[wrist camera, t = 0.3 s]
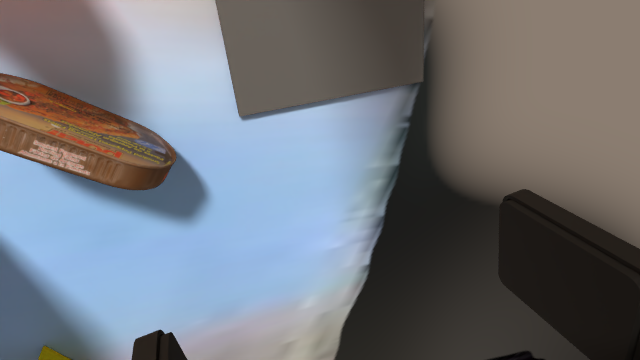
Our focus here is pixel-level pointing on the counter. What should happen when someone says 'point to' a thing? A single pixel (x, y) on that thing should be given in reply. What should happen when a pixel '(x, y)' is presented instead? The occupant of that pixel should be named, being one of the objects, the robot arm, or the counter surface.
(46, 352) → the food package
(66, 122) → the tin
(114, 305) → the counter surface
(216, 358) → the counter surface
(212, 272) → the counter surface
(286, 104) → the mat
